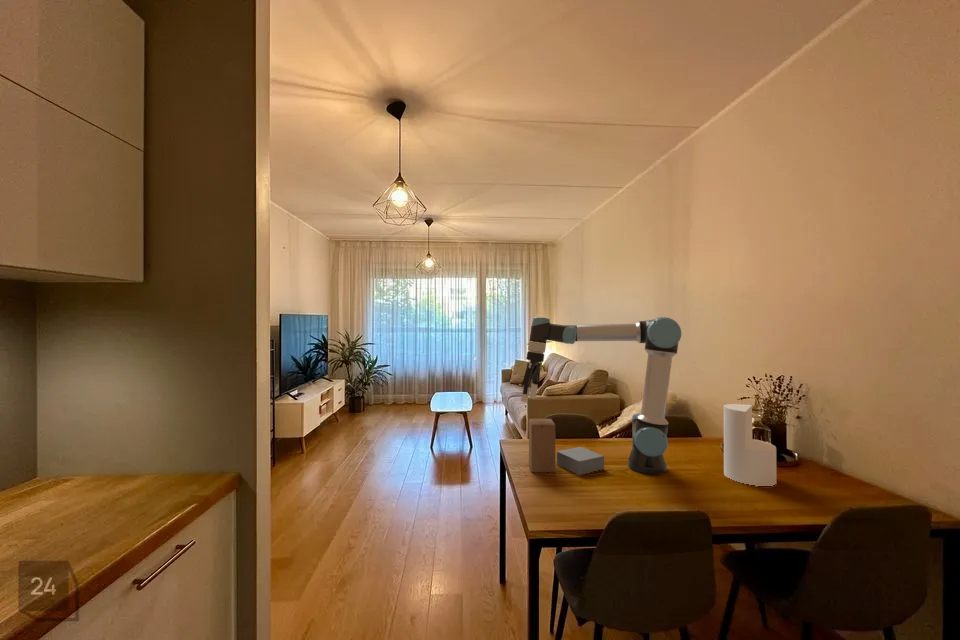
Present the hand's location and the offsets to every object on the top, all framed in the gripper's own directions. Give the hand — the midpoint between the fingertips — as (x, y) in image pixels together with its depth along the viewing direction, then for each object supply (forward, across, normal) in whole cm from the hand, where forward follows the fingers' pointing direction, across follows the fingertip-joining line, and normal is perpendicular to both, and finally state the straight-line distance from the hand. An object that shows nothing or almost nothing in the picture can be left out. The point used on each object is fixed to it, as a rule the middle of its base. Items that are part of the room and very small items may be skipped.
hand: (528, 400), depth 164 cm
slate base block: (+25, -9, +25) cm, 36 cm away
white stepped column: (+15, -24, +89) cm, 93 cm away
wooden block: (+27, -1, +10) cm, 29 cm away
